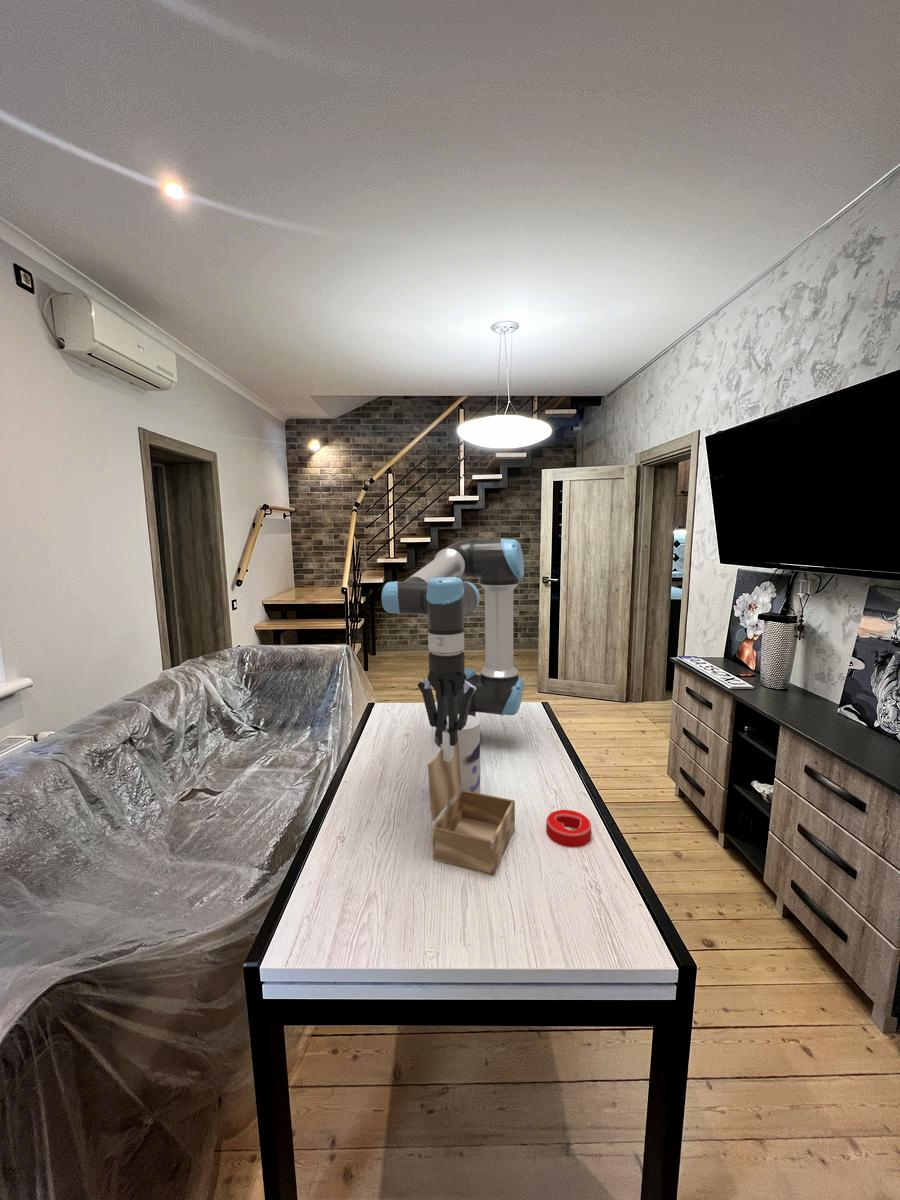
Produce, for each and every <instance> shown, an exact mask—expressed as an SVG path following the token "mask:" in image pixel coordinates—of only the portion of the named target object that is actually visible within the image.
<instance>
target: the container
mask: <svg viewBox="0 0 900 1200" xmlns="http://www.w3.org/2000/svg"><path fill="white" fill-rule="evenodd" d="M458 719H459V714H458ZM447 723H448V725H447V726H446V728H447V727H449V719H448V716H447ZM480 731H481V721H480V719H479V718H478V717H474V716H471V715H468V718H467V722H466V725H465V726H464V728H463V729H462V730H457V735H458V743H459V760H460V777H461V786H460V787H459V789H458V790H457V791H456V793H455V794H454V795H453V797H452V798H451V799H450V801H449V802H448V803H447V804H449V805H450V803H451V802H452V801H453V799H454V798H455V797H456V795H457V794H458V793H459V791H460V790H465V791H470V792H475V793H480V794H481V742H480ZM439 747H440V751H441V750H442V749H443V744H440V746H439Z"/></svg>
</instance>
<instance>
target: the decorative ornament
mask: <svg viewBox="0 0 900 1200" xmlns="http://www.w3.org/2000/svg"><path fill="white" fill-rule="evenodd" d="M568 828H572V829H568ZM545 831H546V834H547V836H548V838H549V839H550V840H551V841H552V842H554V843H555V844H557V845H559V846H562V847H566V848H580V847H583V846H586V845H587V844H588V843H589V842H590V841H591V839H592V824H591V821H590V820H589V818H588V817H587V816H586V815H584V814H583V813H580V812H578V811H575V810H572V809H571V810H570V809H558V810H555V811H553V812H551V813H549V814H548V816H547V817H546V829H545Z"/></svg>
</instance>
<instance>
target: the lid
mask: <svg viewBox="0 0 900 1200" xmlns="http://www.w3.org/2000/svg"><path fill="white" fill-rule="evenodd" d="M457 738H458V735H457ZM427 772H428V786H429V787H428V788H429V791H428V792H429V803H430V806H429V810H430V816H431V817H430V819H431V822H435V821H436V819H437V818H438V817H439V815H440V814H441V813H442V811H443V810H444V809H445V807H446V806H447V804H449V803H448V802H449V801H450V799H451V798H452V797H453V795H454V794H455V793H456V791H457V790H458V789H459V787H460V786H461V777H460V760H459V743H458V742H457V744H456V745H455V746H454V757H453V758H452V759H451V760H450V762H447V761H443V749H442V750H441V749H440V751H439V752H438V753H437V754H436V755H435V756H434V757H433V758H432V759H431V760H430V761H429V762H428V763H427Z"/></svg>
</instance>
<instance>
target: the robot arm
mask: <svg viewBox="0 0 900 1200" xmlns="http://www.w3.org/2000/svg"><path fill="white" fill-rule="evenodd" d="M524 561H525V559H524V554H523V549H522V546H521V544H520V542H519V541H518V540H516V539H513V538H511V539H510V538H485V539H484V538H479V539H475V538H471V539H470V538H469V539H463V540H460V541H456V542H455V543H452V544H450V545H448V546H446V547H444V548H442V549H441V550H439V551H438V552H437V553H436V554H435V556H434V559H433V560H432V561H430V562H428V563H427V564H425V566H423V567H421V568H420V569H419V570H418V571H416V572H414V573H413V574H411V576H409V577H407V579H405V580H404V581H397V580H396V581H388V582H386V583H385V584H384V585H383V587H382V591H381V604H382V607H383V609H384V611H386V612H387V613H388V614H397V615H423V616H424V615H426V616H427V635H428V636H427V637H428V638H427V639H428V640H427V641H428V643H427V644H428V645H427V646H428V651H429V653H428V670H429V672H428V674H427V678H426V679H422V680H421V681H419V682H418V683H417V687H418V689H419V690H420V693H422V698H423V703H424V706H425V710H426V714H427V715H426V716H427V718H428V722H429V725H430V727H435V728H436V729H435V732H434V742H435V744H436V745H437V746H439V747H440V744H443V761H447V762H450V760H451V759H452V758H453V757H454V746H455V745H456V744H457V742H458V738H457V730H462V729H463V728H464V726H465V725H466V722H467V718H468V715H471V716H474V717H476V713H481V714H482V713H483V714H489V715H490V714H491V715H492V714H493V715H500V716H515V715H517V713H518V712H519V709H520V706H521V703H522V699H523V694H524V686H525V685H524V682H525V681H524V678H522V677H520V676H519V670H518V669H517V668H516V667H515V666H514V589H515V588H516V587H517V586H518V585H519V580H521V579H523V578H524V576H525V562H524ZM461 578H474V579H475V578H476V579H479V585H480V586H481V587H482V589H484V618H485V619H484V635H485V636H484V643H485V645H484V647H485V649H484V651H485V652H484V653H485V658H484V659H485V665H484V667H483V668H482V669H481V670H480V674H477V672H476V670H475V669H474V668H472V667H465V653H464V652H463V651H464V650H465V626H464V625H465V621H464V620H465V619H464V618H465V616H467V615H470V614H471V613H472V612H474V610H475V609H476V608H477V607H478V606H479V604H480V601H481V595H480V591H479V589H478V588H477V586H476V585H475V584H474V583H472V582H469V581H463V580H462V579H461ZM433 690H434V691H435V692H434V693H435V698H434V693H433ZM435 700H436V701H435ZM458 714H459V719H458ZM447 716H448V719H449V727H447V728H446V726H447V725H448V723H447ZM476 718H477V717H476ZM481 742H482V731H481V730H480V743H481Z"/></svg>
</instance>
